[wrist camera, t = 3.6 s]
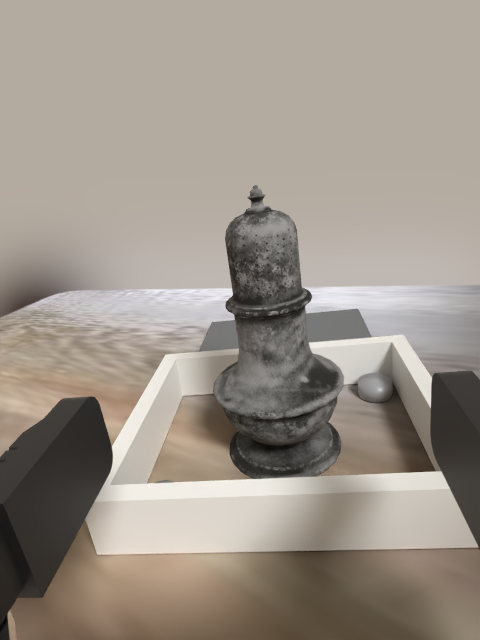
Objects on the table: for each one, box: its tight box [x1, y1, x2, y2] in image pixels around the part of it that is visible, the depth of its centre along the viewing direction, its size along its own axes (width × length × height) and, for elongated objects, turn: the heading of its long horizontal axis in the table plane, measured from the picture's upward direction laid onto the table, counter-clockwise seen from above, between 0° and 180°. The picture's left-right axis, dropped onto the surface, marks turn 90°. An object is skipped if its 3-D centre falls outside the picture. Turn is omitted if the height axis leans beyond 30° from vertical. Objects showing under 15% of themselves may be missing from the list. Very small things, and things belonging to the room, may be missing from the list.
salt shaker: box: [213, 185, 344, 479], centre depth 19 cm, size 6×6×12 cm
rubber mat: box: [199, 309, 371, 352], centre depth 32 cm, size 12×8×1 cm, turn 85°
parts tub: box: [85, 335, 479, 555], centre depth 20 cm, size 14×12×2 cm
